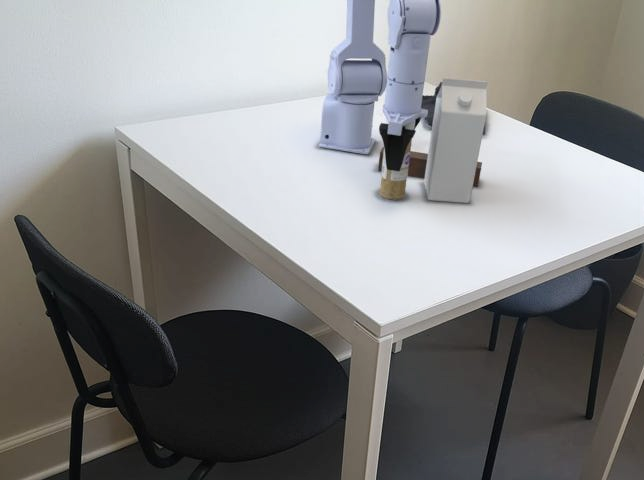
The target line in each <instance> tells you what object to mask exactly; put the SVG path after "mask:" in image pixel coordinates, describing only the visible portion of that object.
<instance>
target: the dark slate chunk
mask: <svg viewBox="0 0 644 480" xmlns="http://www.w3.org/2000/svg"><path fill="white" fill-rule="evenodd" d="M441 86H442V81H440V82H439V84H438V86H436V87H435V88H434V94H433V95H431V94H430V95H424V94H423V96H422V103H421V109H426V110H428V115H427V117H425V118H424V117H423V119H424V121H425V122H426V123H427V125H428V126H430V127H432V125H433V118H434V111H435V105H436V98H437V95H438V93H439V90H440V88H441ZM485 135H486V124H485V125H484V130H483V135H482V136H485Z"/></svg>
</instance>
